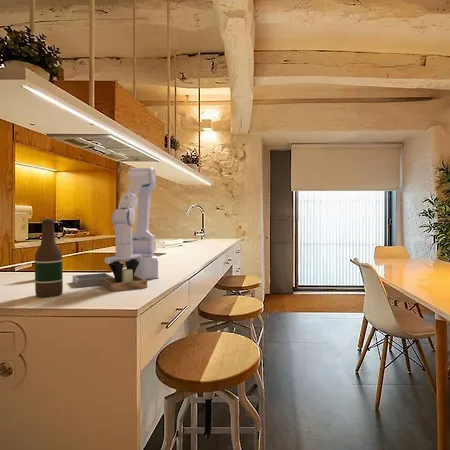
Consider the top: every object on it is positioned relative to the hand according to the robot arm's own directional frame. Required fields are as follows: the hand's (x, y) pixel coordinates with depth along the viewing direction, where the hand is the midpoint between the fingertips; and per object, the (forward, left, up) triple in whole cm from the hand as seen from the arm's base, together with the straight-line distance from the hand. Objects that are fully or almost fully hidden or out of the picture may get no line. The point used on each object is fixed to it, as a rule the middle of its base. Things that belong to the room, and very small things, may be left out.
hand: (124, 282), depth 129 cm
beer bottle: (+24, +1, -2) cm, 24 cm away
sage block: (0, 0, -2) cm, 2 cm away
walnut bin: (0, 0, -2) cm, 2 cm away
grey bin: (+8, -14, -2) cm, 16 cm away
